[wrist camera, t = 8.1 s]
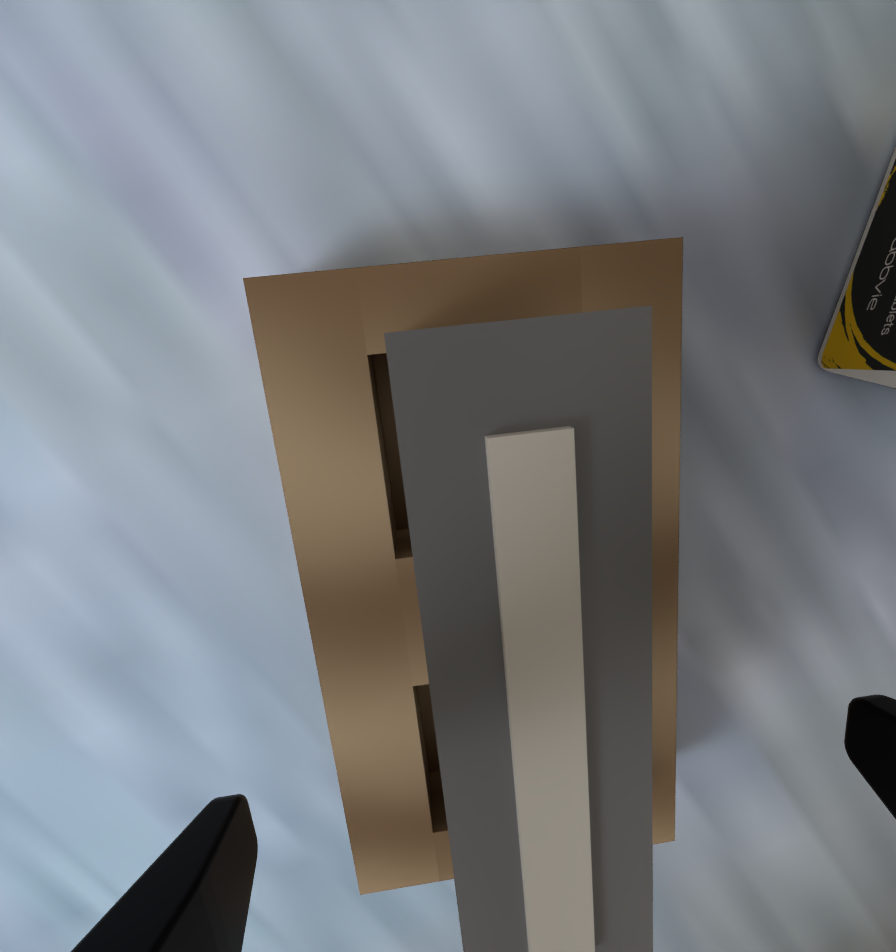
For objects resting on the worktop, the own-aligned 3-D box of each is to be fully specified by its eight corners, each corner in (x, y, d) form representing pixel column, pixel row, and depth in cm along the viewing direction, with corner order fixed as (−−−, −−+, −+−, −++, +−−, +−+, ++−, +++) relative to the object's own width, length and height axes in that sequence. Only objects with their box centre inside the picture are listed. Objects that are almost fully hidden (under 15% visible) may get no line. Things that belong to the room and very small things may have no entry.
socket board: (636, 772, 17) (674, 840, 14) (365, 816, 16) (360, 894, 14) (631, 258, 13) (683, 236, 10) (273, 292, 12) (243, 278, 10)
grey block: (559, 756, 16) (657, 1005, 10) (446, 774, 15) (474, 1040, 9) (535, 328, 13) (659, 304, 6) (392, 342, 12) (382, 333, 6)
